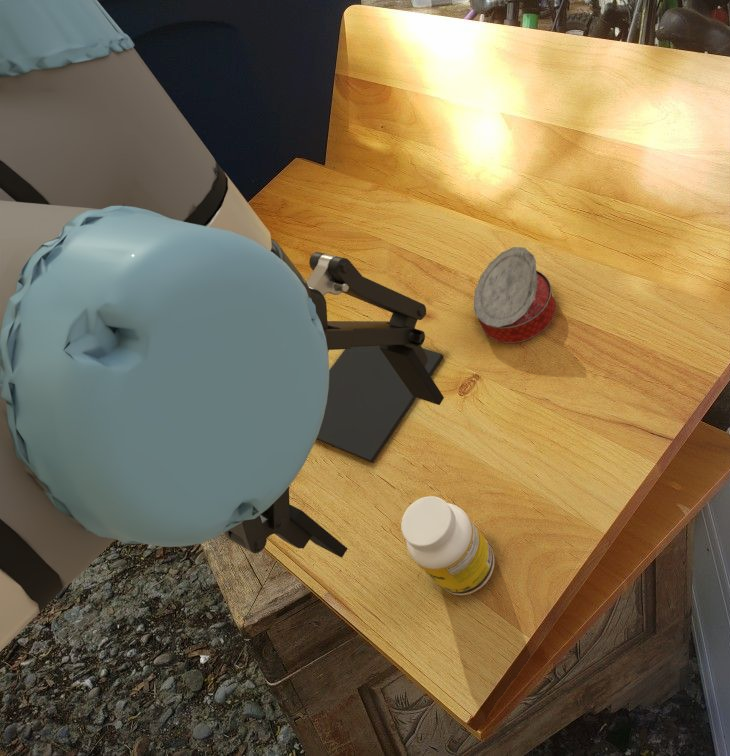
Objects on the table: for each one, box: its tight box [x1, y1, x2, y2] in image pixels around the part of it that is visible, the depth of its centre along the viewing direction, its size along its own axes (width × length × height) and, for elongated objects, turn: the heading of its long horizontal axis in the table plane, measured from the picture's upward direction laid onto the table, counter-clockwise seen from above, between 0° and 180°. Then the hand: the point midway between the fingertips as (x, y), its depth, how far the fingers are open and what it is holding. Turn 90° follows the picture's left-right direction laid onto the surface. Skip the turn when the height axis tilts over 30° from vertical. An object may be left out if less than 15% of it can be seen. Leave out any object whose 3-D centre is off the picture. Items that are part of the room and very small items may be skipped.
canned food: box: [473, 246, 557, 344], centre depth 83 cm, size 11×10×10 cm
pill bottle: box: [400, 495, 495, 596], centre depth 63 cm, size 6×6×11 cm
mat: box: [316, 346, 444, 463], centre depth 85 cm, size 16×14×1 cm
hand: (382, 468), depth 52 cm, fingers open, 13 cm apart
